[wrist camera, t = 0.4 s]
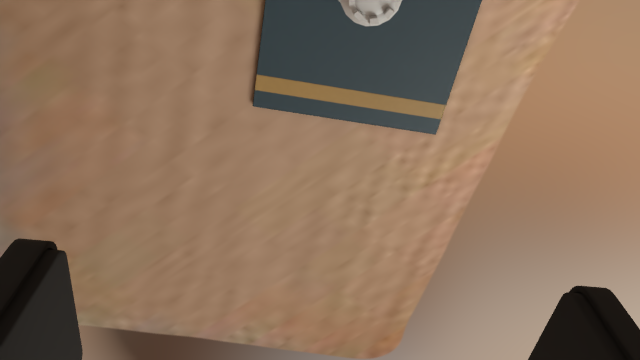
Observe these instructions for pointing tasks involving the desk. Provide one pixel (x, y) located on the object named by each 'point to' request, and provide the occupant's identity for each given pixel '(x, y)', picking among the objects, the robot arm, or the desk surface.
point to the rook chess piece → (370, 10)
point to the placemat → (363, 61)
